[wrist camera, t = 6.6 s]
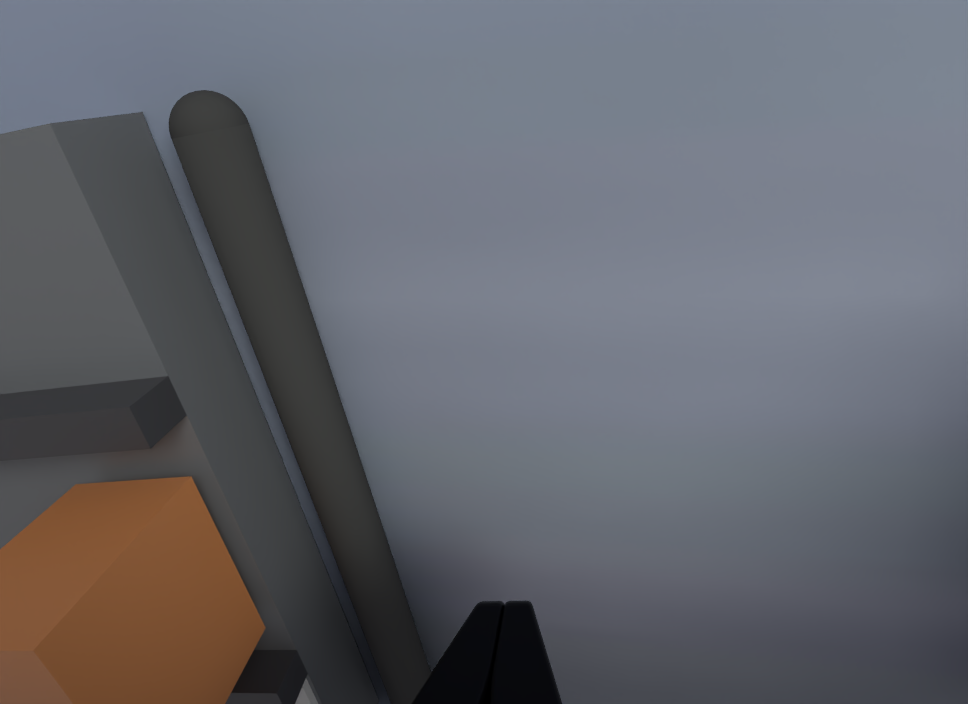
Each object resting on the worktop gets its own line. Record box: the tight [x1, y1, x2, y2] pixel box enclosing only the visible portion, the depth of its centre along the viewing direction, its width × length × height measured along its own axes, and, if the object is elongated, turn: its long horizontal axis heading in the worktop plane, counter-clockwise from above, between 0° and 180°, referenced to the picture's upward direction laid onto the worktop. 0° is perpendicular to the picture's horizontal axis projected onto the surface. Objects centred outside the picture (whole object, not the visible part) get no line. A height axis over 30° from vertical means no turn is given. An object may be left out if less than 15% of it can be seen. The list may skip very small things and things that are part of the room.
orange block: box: [0, 476, 266, 704], centre depth 10 cm, size 4×2×4 cm, turn 10°
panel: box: [0, 112, 379, 704], centre depth 13 cm, size 16×8×3 cm, turn 10°
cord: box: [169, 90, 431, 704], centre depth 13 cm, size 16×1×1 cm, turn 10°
